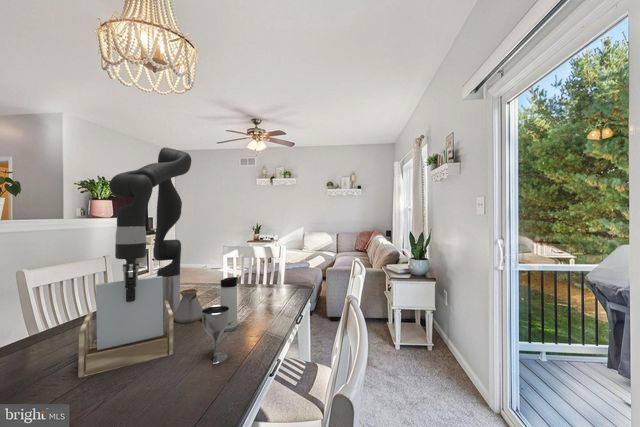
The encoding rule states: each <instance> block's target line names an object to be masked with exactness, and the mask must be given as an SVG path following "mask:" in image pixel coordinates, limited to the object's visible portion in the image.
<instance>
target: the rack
mask: <svg viewBox="0 0 640 427" xmlns="http://www.w3.org/2000/svg"><path fill="white" fill-rule="evenodd" d="M93 314H94V312H93V311H89V312H87V315H86V316H85V318H84V319H83V323H82V324H81V326H80V328H79V331H78V371H77V372H78V378H83V377H87V376H91V375H96V374H98V373H99V374H100V373H103V372H107V371H112V370H116V369H119V368H123V367H128V366H132V365H136V364H140V363H144V362H148V361H152V360H157V359H160V358H165V357H169V356H173V355H174V315H173V313H172V310H171V308H170V305H169V303H168V301H165V313H164V316H163V335H162V336H158V337H153V338H149V339H144V340H140V341H136V342H131V343H127V344H123V345H118V346H114V347H109V348H105V349H101V350H97V339H96V340H93Z"/></svg>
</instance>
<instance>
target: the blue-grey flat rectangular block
mask: <svg viewBox="0 0 640 427" xmlns="http://www.w3.org/2000/svg"><path fill="white" fill-rule="evenodd" d="M132 283H134V282H128V284H132ZM95 301H96V302H95V303H96V304H95V305H96V309H95V310H96V340H97V350H101V349H105V348H109V347H114V346H118V345H123V344H127V343H131V342H136V341H140V340H144V339H149V338H153V337H158V336H162V335H163V331H164V316H163V287H162V276H158V277H157V276H151V277H144V278H143V277H142V278H138V279H137V280H136V288H135V301H133V302H126V289H125V281H124V280H119V281H113V282H112V281H111V282H103V283H96V285H95Z"/></svg>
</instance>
